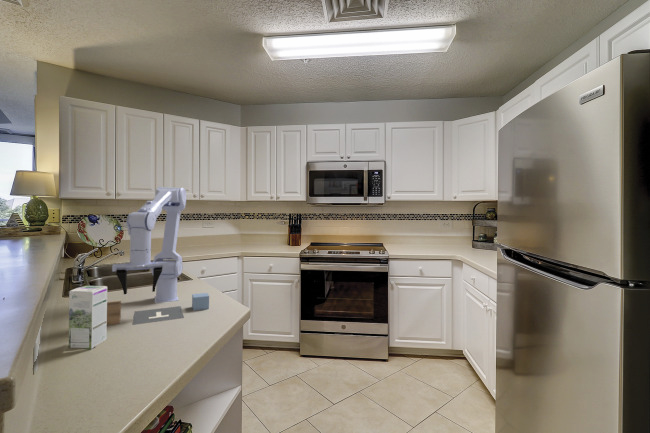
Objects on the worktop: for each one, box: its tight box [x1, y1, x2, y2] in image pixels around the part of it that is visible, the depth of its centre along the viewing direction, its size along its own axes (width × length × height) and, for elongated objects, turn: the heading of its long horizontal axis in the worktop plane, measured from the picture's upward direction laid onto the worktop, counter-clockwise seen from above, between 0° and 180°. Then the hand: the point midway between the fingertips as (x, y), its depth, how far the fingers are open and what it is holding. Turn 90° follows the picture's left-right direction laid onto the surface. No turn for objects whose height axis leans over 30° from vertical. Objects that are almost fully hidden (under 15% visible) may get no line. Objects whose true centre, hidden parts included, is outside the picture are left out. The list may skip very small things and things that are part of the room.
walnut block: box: [107, 300, 122, 326], centre depth 92 cm, size 5×5×6 cm
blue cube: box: [191, 292, 210, 312], centre depth 108 cm, size 5×5×5 cm
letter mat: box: [132, 305, 185, 326], centre depth 99 cm, size 14×14×1 cm
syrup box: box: [68, 285, 108, 350], centre depth 77 cm, size 6×6×14 cm
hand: (139, 292), depth 97 cm, fingers open, 7 cm apart
